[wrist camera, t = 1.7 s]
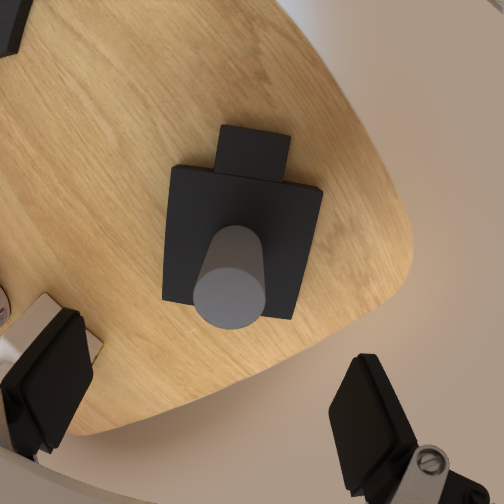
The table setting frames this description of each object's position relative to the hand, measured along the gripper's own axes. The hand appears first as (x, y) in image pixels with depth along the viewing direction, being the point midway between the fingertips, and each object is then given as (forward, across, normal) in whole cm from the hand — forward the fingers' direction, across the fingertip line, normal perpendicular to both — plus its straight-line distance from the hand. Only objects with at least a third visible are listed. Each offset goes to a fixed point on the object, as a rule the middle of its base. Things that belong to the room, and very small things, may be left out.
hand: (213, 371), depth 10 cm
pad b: (+12, 0, -2) cm, 12 cm away
